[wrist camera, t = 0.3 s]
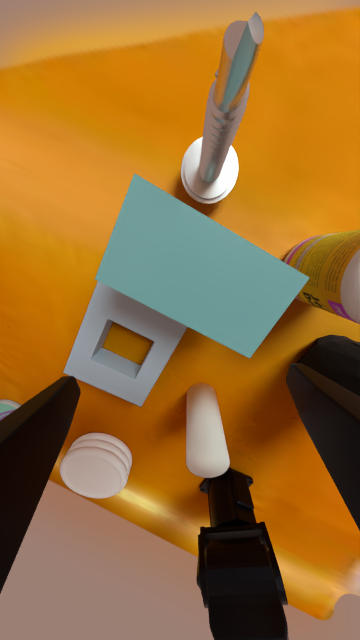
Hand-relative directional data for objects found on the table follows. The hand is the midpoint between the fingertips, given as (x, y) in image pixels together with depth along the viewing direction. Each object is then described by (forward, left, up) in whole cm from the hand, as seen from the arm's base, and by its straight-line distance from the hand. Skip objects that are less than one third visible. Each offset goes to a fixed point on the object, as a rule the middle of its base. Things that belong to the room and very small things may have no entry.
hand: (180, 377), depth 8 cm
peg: (-11, -8, -15) cm, 20 cm away
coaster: (-29, 0, -15) cm, 32 cm away
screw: (+11, +4, -15) cm, 19 cm away
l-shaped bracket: (+4, +1, -15) cm, 15 cm away
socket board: (-5, +4, -15) cm, 16 cm away
